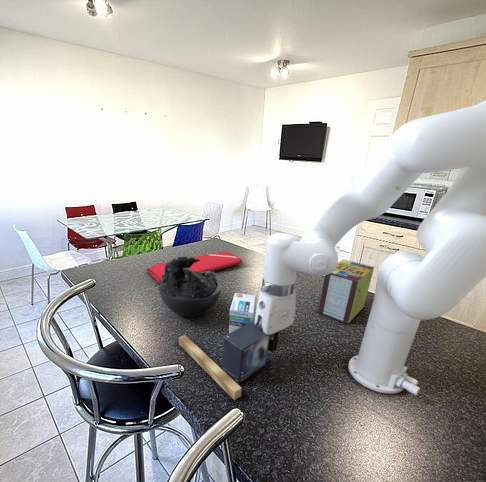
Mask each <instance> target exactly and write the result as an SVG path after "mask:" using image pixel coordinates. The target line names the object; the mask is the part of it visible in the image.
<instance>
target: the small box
mask: <svg viewBox="0 0 486 482" xmlns="http://www.w3.org/2000/svg"><path fill="white" fill-rule="evenodd" d="M257 327H258V326H255V322H254V323H253V322H252V321H251V322H249V323H248V324H246V325H244V326H242V327H240V328H239V329H237V330H235V331H233V332H231V333H229V332H228V333H227V334H226V335H224V336H223V337H222V338H223V340H222V353H221V354H222V356H221V367H220V368H221V369H222V370H223V371H224V372H225V373H226V374H227V375H228V376H229V377H230V378H232V379H233V380H234V381H235V382H236V383H237V384H238V385H240V384H241V383H243V382H245V380H247V379H248V378H250V377H251V376H252V375H253V374H255V373H256V372H258V371H259V370H260V369H262V368H264V367H265V366H266V364H267V357H268V351H269V350H268V343H269V335H267V334H266V333H264V332H263V330H262V331H260V330H259V329H257Z"/></svg>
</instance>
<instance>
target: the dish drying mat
mask: <svg viewBox="0 0 486 482" xmlns="http://www.w3.org/2000/svg"><path fill="white" fill-rule="evenodd" d="M193 257H194V258H195V259H199V260H200V261H198V262H196V263H193V265H192V266H191V267H190V268H189V269H190V270H191V271H197V272H205V271H210V270H211V269H213V270H214V272H215V271H219V270H223V269H226V268H230V267H233V266H237V265H240V264H242V263H243V262H244V260H243V259H242V258H241V257H238V256H237V255H235V254H233V253H231V252H227V251H218V252H213V253H207V254H203V255H197V256H193ZM168 262H169V261H168ZM168 262H161V263H158V264H154V265H153V266H151V267H147V268H146V271H147V273H148V274H150V275H151V276H152V277H153V278H154V280H156V281H157V283H158V284H160V283H161V280H162V275H163V274H164V270H165V264H167V263H168Z"/></svg>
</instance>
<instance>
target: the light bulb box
mask: <svg viewBox="0 0 486 482" xmlns="http://www.w3.org/2000/svg"><path fill="white" fill-rule="evenodd" d="M256 306H257V295H255V294H245V293H239V292H238V293H237V292H234V294H233V298H232V302H231V304H230V308H229V325H228V334H229V333H231V332H233V331H235V330H237V329H239V328H240V327H242V326H244V325H246V324H248V323H249V322H251V321H252V322H253V323H255V314H256Z"/></svg>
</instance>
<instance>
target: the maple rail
mask: <svg viewBox="0 0 486 482" xmlns="http://www.w3.org/2000/svg"><path fill="white" fill-rule="evenodd" d="M178 343H179V344H178V345H179V346H180V347H181V348H182V349H183V350H184V351H185V352H186V353H187V354H188V355H189V356H190V358H192V359H193V360H194V361H195V362H196V363H197V364H198V365H199V366H200V367H201V369H203V371H204V372H205V373H206V374H208V376H209V377H211V379H213V380H214V382H215V383H216V384H217V385H218V386H219V387H220V388H221V389H222V390H223V391H224V392H225V393H226V394H227V395H228V396H229V397H230V398H231V399H232V400H233V401H236V400H237V399H239V398H241V397H242V392H243V391H242V390H243V388H242V387H241V386H240V384H238V383H236V382H235V381H234V380H233V379H232V378H230V377H229V376H228V375H227V374H226V373H225V372H224V371H223V370H222V369H221V367H220V366H219V365H218V364H217V363H216V362H215V361H214V360H213V359H211V358H210V357H209V356H208V355H207V353H205V352H204V351H203V350H202V349H201V348H200V347H199V346H198V345H197V344H196V343H194V342H193V341H192V340H191V339H190V337H188V336H187V335H186V334H184V335H181V336H179V337H178Z"/></svg>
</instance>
